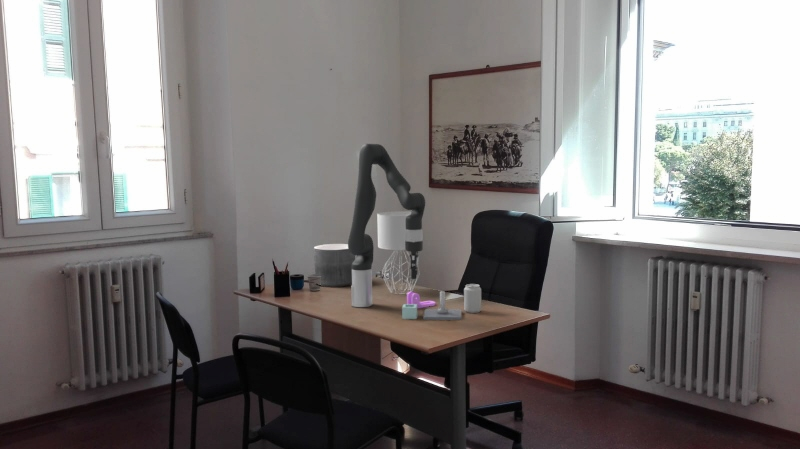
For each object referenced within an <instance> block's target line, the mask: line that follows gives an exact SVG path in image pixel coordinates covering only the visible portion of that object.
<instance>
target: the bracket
mask: <svg viewBox="0 0 800 449" xmlns="http://www.w3.org/2000/svg"><path fill="white" fill-rule="evenodd" d="M407 292H408V293H407ZM407 292H406V293H407V294H406V304H417V309H422V308H429V306H430V307H434V306H436V301H434V300H425V301H421V297H420V294H419V293H417V292H413V291H412V290H409V291H407Z"/></svg>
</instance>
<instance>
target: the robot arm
mask: <svg viewBox="0 0 800 449" xmlns="http://www.w3.org/2000/svg"><path fill="white" fill-rule="evenodd" d="M373 165H378V166H380V168H381V169H382V170H383V171H384V173H385V178H386V182H387V183H388V186H389V187H390V188H391V189H392V190H393V192H394V193H395V194H396V195H397V199H398V201H399V203H400V205H401V207H402V208H404V209H405V210H407V211H410V212H411V214H410V215H409V216H407V217H406V221H405V222H406V231H405V250H406V251H407V252H410V255H409V256H408V258H409V265H410V266H411V267H409V270H410V269H411V271H410V276H411V277H410V280H414V279H415V280H416V278H417V276H418V275H419V271H418V267H419V263H420V261H419V260H420V255H419V252H422V251H423V250H424V247H423V246H424V245H423V244H424V242H423V240H424V238H423V237H424V234H423V216H424V213H425V207H426V199H425V195H423V194H422V193H420V192H415V193H414V192H412V193H411V192H410V191H411V188H412V187H411V185H410V183H409V182H408V181H407V179H406V178H404V175H403V174H401V172H400V171H399V170H398V168H397V166H396V165H395V162H394V161H393V160H392V158H391V156H390V155H389V152H388V151H387V150H386V148H385V147H384V146H383V145H382V144H379V143H364V144H363V145H362V146H361V148H360V150H359V155H358V179H357V184H356V185H357V187H356V194H355V199H354V210H353V216H352V222H351V228H350V231H349V236H348V240H347V244H348V249H349V251H350V253H351V254H352V255H355V260H354V262H353V263H352V285H350V288H351V292H350V294H351V298H350V299H351V307H355V308H367V307H371V306H373V275H372V274H373V272H372V270H373V269H372V265H373V262H374V242H373V241H374V240H373V239H372V236H370V235H369V234H367V233H366V228H367V225H368V222H369V221H370V219H371V217H372V216H373V213H374V211H375V207H376V200H377V190H376V187H375V184H374V183H373V178H372V170H373ZM405 250H404V251H405ZM406 251H405V252H406ZM417 266H418V267H417ZM417 271H418V272H417Z"/></svg>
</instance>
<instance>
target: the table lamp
mask: <svg viewBox="0 0 800 449" xmlns="http://www.w3.org/2000/svg"><path fill="white" fill-rule="evenodd" d="M411 212H412V211H409V210H407V211H398V210H397V211H384V212H378V213H376V215H377V247H378V248H379V249H383V250H389V251H390V250H391V251H393V252H392V253H391V255H390V256H389V257H388V258H387V261H386V262H385V263H384V265H383V268H382V271H381V276H382V278H383V281H384V282H385V285H386V287H387V288H388V292H389V293H391V294H394V295H395V294H396V295H397V290H396V289H398V291H400V290H402V289H403V286H404V285H405V284H406V285H405V288H404V289H403V290H402V292H400V295H405V294H406V295H407V293H408V292H409V291H412V292H413V291H414V288H415V286H416V284H417V281H418V279H419V277H420V274H421V273H420V271H419V270H420V269H419V265H418V266H417V272H418V275H417V278H416V279H410V280H409V278H411V275H410V276H409V274H410V272H411V269H410V268H411V266H410V262H409V261H408V258H407V256H406V254H407V255H408V257H409V255H411V253H409V252H408V251H406V250H405V231H406V222H405V221H406V217H407V216H409V215H410V214H411ZM399 251H403V253H404V257H405V260H406V261H405V262H404V263H402V262H403V261H402V259H403V258H402V257H400V258H399V260H398V261H399V264H396V260H397V257H398V254H399ZM405 252H406V253H405ZM406 263H407V268H405V270H402V271H401V267H403V265H404V264H406ZM390 264H391V265H390ZM395 265H396V266H398V267H399V269H398V268H397V267H396V266H395ZM389 266H390V268H389V269H388V267H389ZM392 268H393V269H392ZM394 268H395V269H396V270H397V271H398V272H397V273H396V274H395V275H394V272H392V271H394ZM407 269H408V270H409V271H408V273H407V276H406V275H405V274H404V272H405V271H406V270H407ZM389 270H390V275H391V276H389V275H388V274H387V273H386V272H388V271H389ZM398 274H399V275H402V276H404V277H405V278H406V279H404V278H403V277H400V278H399V280H397V281H395V280H394V278H395V277H396V276H398ZM383 275H384V276H383ZM408 276H409V277H408ZM389 278H390V279H391V280H390V279H389ZM402 280H404V283H402V286H400V285H398V284H397V283H399V281H402ZM389 282H390V283H391V284H392V285H391V286H390V284H389ZM413 283H414V284H413ZM406 289H407V291H406ZM394 291H395V292H394ZM405 291H406V293H405Z"/></svg>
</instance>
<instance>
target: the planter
mask: <svg viewBox="0 0 800 449" xmlns="http://www.w3.org/2000/svg"><path fill="white" fill-rule="evenodd" d="M313 252H314V253H313V254H314V258H313V259H314V276H315V275H320V276H321V286H320V287H324V286H325V287H326V288H340V287H347V286H352V263H353V262H354V260H355V259H356V255H352V254H351V253H350V251H349V249H348V243H346V244H345V243H330V244H329V243H328V244H321V245H315V246H314V247H313Z"/></svg>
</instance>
